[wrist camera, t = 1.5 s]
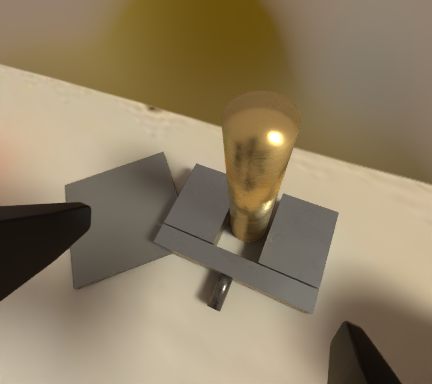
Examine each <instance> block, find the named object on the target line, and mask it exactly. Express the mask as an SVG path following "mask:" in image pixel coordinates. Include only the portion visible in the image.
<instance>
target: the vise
mask: <svg viewBox="0 0 432 384" xmlns="http://www.w3.org/2000/svg"><path fill="white" fill-rule="evenodd" d="M338 213H339V212H336V211H333V210H330V209H327V208H324V207H321V206H318V205H315V204H312V203H309V202H306V201H304V200H301V199H298V198H295V197H292V196H289V195H286V194H283V195H282V198H281V201H280V203H279V206H278V209H277V212H276V214H275V217H274V220H273V223H272V225H271V228H270V231H269V234H268V236H267V239H266V242H265V244H264V247H263V250H262V253H261V255H260V258H259V261H258V264H257V263H254V262H252V261H250V260H247V259H245V258H243V257H240V256H238V255H236V254H233V253H231V252H229V251H226V250H224V249H222V248H219V247H217V244H218V242H219V239H220V237H221V235H222V232H223V230H224V228H225V226H226V223H227V221H228V219H229V217H230V208H229V197H228V186H227V176H226V174H225V173H222V172H219V171H216V170H213V169H210V168H207V167H205V166H202V165H199V164H196V165H195V167H194V169H193V170H192V172H191V174H190V176H189V178H188V180H187V181H186V183H185V185H184V187H183V189H182V190H181V192H180V194H179V196H178V198H177V200H176V201H175V203H174V205H173V207H172V209H171V211H170V212H169V214H168V216H167V218H166V220H165V221H164V223H165V224H166V225H165V224H163V225H162V227H161V229H160V231H159V232H158V234H157V236H156V238H155V240H154V241H153V242H154V243H156V244H157V245H158V246H160V247H162V248H164V249H166V250H169V251H171V252H173V253H174V254H176V255H179V256H181V257H183V258H185V259H187V260H190V261H192V262H194V263H196V264H198V265H200V266H203V267H205V268H207V269H209V270H211V271H214V272H216V273H218V274H220V276H219V278H218V281H217V283H216V285H215V288H214V290H213V293H212V295H211V297H210V300H209V302H208V306H209V307H211V308H213V309H215V310H217V311H220V310H221V308H222V305H223V303H224V300H225V298H226V295H227V292H228V290H229V287H230V285H231V282H232V280H233V281H236V282H238V283H240V284H242V285H244V286H247V287H249V288H251V289H253V290H255V291H258V292H260V293H262V294H264V295H266V296H269V297H271V298H273V299H275V300H277V301H280V302H282V303H284V304H286V305H288V306H290V307H293V308H295V309H297V310H299V311H301V312H304V313H306V314H313V311H314V307H315V303H316V299H317V295H318V291H319V290H318V289H319V287H320V283H321V279H322V276H323V272H324V268H325V264H326V260H327V256H328V252H329V248H330V245H331V241H332V237H333V233H334V229H335V225H336V221H337V217H338Z"/></svg>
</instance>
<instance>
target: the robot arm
mask: <svg viewBox="0 0 432 384" xmlns="http://www.w3.org/2000/svg"><path fill="white" fill-rule="evenodd" d="M90 226H91V207H90V206H89V205H87V204H85V203H82V202H69V203H51V204H34V205H16V206H0V301H2V300H3V299H4V298H6V297H7V296H8V295H10V294H11V293H12V292H14V291H15V290H16V289H18V288H19V287H20V286H22V285H23V284H24V283H26V282H27V281H28V280H30V279H31V278H32V277H34V276H35V275H36V274H38V273H39V272H40V271H42V270H43V269H44V268H46V267H47V266H48V265H50V264H51V263H52V262H53V261H55V260H56V259H57V258H58V257H59V256H61V255H62V254H63V253H64V252H65V251H66V250H67V249H68V248H70V247H71V246H72V245H73V244H74V243H75V242H76V241H77V240H79V239H80V238H81V237H82V236H83V235H84V234H85V233H86V232H87V231H88V230H89V229H90ZM327 384H402V383H401V381H400V380H399V379H398V377H397V376H396V374H395V373H394V372H393V370H392V369H391V367H390V366H389V365H388V363H387V362H386V361H385V359H384V358H383V356H382V355H381V354H380V352H379V351H378V349H377V348H376V347H375V345H374V344H373V343H372V341H371V340H370V338H369V337H368V336H367V334H366V333H365V332H364V330H363V329H362V328H361V327H360V326H357V325H355V324H353V323H351V322H348V321H345V322H343V323H342V325H341V326H340V328H339V330H338V331H337V333H336V335H335V336H334V338H333V340H332V342H331V346H330V356H329V370H328V383H327Z"/></svg>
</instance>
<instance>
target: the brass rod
mask: <svg viewBox="0 0 432 384" xmlns="http://www.w3.org/2000/svg"><path fill="white" fill-rule="evenodd" d="M300 125H301V117H300V113H299V111H298V109H297V107H296V106H295V104H294V103H293V102H292V101H291V100H289V99H288V98H287V97H285V96H283V95H281V94H279V93H276V92H271V91H265V90H258V91H250V92H247V93H244V94H241V95H239V96H237V97H236V98H234V99H233V100H232V101H230V102H229V104H228V105H227V106H226V108H225V109H224V111H223V114H222V132H223V143H224V154H225V165H226V176H227V186H228V197H229V208H230V219H231V228H232V231H233V233H234V235H235V236H236V237H237V238H238V239H240V240H242V241H244V242H254V241H257V240H259V239H260V238H261V237H262V236H263V235H264V233H265V231H266V228H267V225H268V222H269V219H270V216H271V213H272V210H273V207H274V204H275V201H276V198H277V195H278V192H279V189H280V186H281V183H282V180H283V177H284V174H285V171H286V168H287V165H288V162H289V159H290V156H291V153H292V150H293V147H294V144H295V141H296V138H297V135H298V132H299V129H300Z"/></svg>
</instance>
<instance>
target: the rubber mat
mask: <svg viewBox="0 0 432 384" xmlns="http://www.w3.org/2000/svg"><path fill="white" fill-rule="evenodd" d="M65 189H66V201H67V203H69V202H82V203H85V204H87V205H89V206H90V207H91V226H90V229H89V230H88V231H87V232H86V233H85V234H84V235H83V236H82V237H81V238H80V239H79V240H77V241H76V242H75V243H74V244H73V245H72V246H71V247H70V248H71V260H72V272H73V283H74V289H79V288H82V287H84V286H87V285H90V284H92V283H95V282H98V281H100V280H103V279H106V278H108V277H111V276H114V275H116V274H119V273H122V272H124V271H127V270H130V269H132V268H135V267H138V266H140V265H143V264H146V263H148V262H151V261H154V260H156V259H159V258H162V257H164V256H167V255H170V254H172V253H173V252H171V251H169V250H166V249H164V248H162V247H160V246H158V245H157V244H156V243H154V242H153V241H154V240H155V238H156V236H157V234H158V232H159V231H160V229H161V227H162V225H163V224H165V223H164V221H165V220H166V218H167V216H168V214H169V212H170V211H171V209H172V207H173V205H174V203H175V201H176V200H177V198H178V195H177V192H176V189H175V186H174V183H173V180H172V177H171V173H170V170H169V167H168V164H167V161H166V158H165V155H164V152H162V153H159V154H156V155H153V156H150V157H147V158H144V159H141V160H138V161H135V162H132V163H129V164H126V165H124V166H121V167H118V168H115V169H112V170H109V171H106V172H103V173H100V174H97V175H94V176H91V177H88V178H85V179H83V180H80V181H77V182H74V183H71V184H68V185H65ZM165 225H166V224H165Z"/></svg>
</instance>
